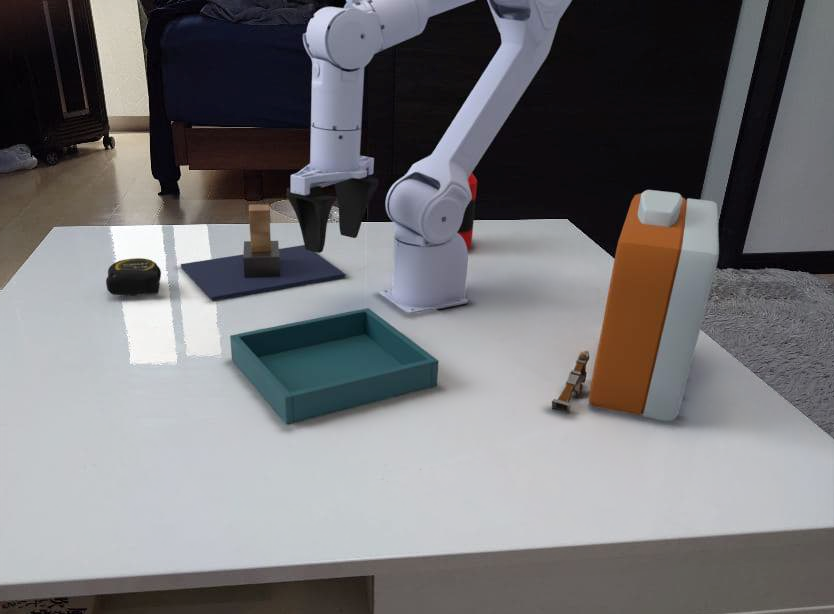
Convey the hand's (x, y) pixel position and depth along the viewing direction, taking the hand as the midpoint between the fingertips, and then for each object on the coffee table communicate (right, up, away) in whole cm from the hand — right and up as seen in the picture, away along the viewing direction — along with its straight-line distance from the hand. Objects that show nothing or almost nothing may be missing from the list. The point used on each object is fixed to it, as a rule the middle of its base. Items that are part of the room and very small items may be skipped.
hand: (331, 243), depth 94 cm
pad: (-11, 0, +19) cm, 21 cm away
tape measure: (-27, -5, +11) cm, 29 cm away
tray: (0, -17, -8) cm, 19 cm away
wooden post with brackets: (+25, -19, -12) cm, 34 cm away
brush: (-11, 0, +18) cm, 21 cm away
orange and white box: (+34, -17, -8) cm, 39 cm away
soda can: (+17, +6, +30) cm, 35 cm away
